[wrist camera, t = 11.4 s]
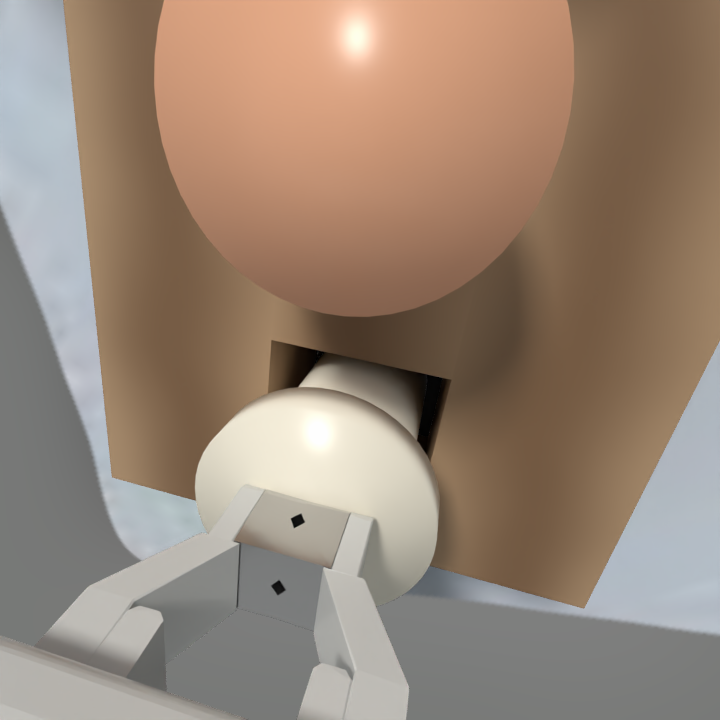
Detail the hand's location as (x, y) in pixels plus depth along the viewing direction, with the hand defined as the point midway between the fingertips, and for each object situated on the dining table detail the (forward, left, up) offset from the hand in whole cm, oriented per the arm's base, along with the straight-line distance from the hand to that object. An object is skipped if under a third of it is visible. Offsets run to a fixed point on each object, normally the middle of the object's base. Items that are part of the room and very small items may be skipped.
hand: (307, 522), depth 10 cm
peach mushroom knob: (0, -8, -7) cm, 10 cm away
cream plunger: (0, 0, -8) cm, 8 cm away
